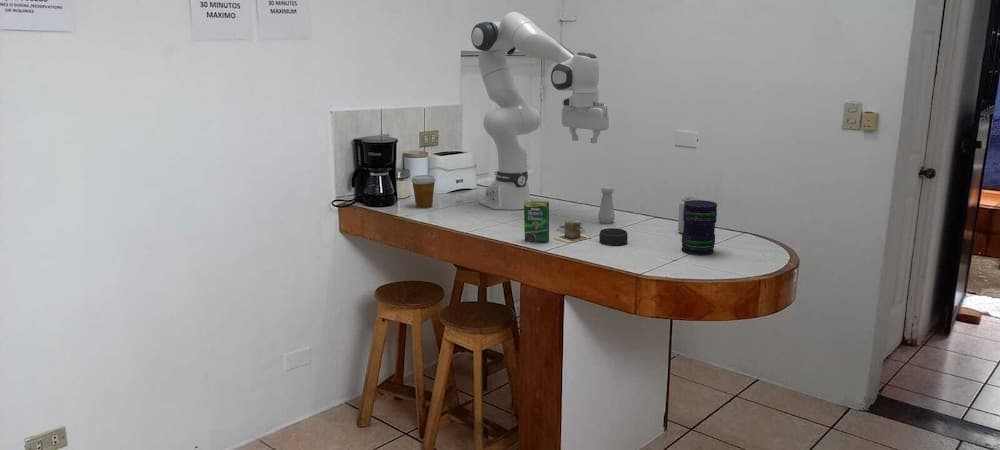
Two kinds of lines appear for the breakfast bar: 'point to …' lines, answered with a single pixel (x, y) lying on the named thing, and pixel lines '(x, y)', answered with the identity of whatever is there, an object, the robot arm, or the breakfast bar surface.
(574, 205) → the breakfast bar surface
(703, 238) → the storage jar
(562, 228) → the ink pad
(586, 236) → the card
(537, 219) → the coffee box
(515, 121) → the robot arm
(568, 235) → the stamp
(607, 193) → the salt shaker
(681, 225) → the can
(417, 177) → the disposable coffee cup
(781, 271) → the breakfast bar surface
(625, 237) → the smart speaker
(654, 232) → the breakfast bar surface
